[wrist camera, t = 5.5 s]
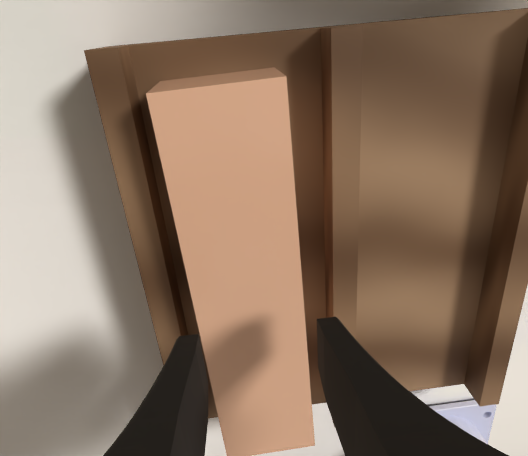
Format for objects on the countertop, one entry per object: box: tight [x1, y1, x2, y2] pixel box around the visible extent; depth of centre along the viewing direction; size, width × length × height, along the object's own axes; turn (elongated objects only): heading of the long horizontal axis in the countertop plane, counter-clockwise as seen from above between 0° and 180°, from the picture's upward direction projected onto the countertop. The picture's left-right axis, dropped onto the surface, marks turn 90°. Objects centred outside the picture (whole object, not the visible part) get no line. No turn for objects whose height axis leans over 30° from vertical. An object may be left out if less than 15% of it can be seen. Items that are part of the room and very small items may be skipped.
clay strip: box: [146, 67, 315, 456], centre depth 17 cm, size 16×4×3 cm, turn 6°
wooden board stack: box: [84, 8, 528, 427], centre depth 18 cm, size 18×16×3 cm
